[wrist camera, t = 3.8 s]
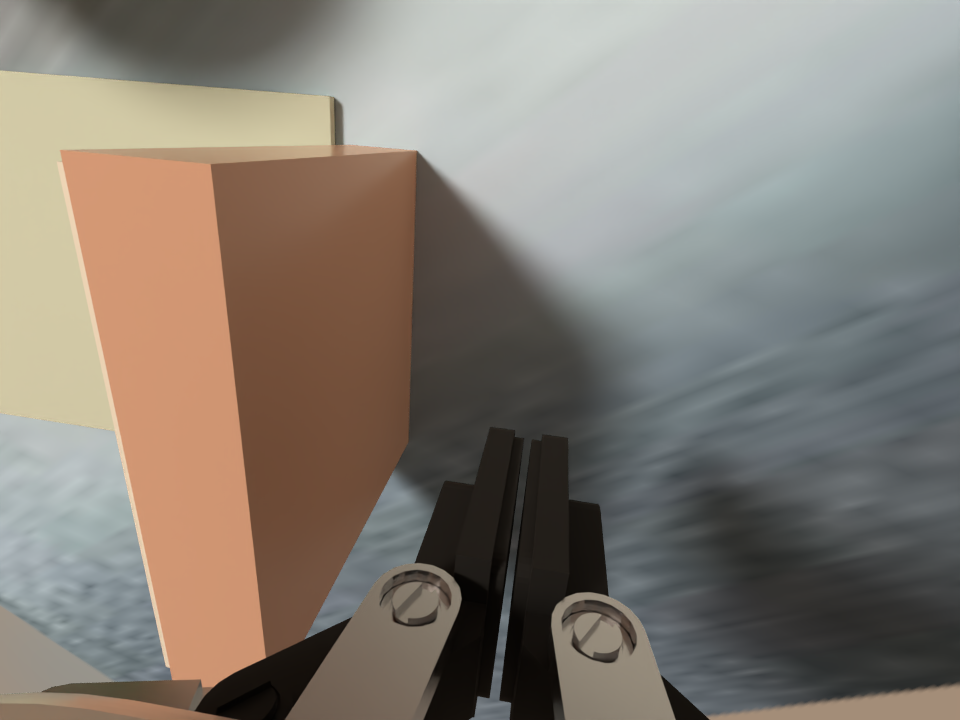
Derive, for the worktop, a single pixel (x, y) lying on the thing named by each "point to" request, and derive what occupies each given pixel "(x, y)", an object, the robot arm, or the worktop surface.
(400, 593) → the robot arm
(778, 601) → the worktop surface
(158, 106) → the mat
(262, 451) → the tile
